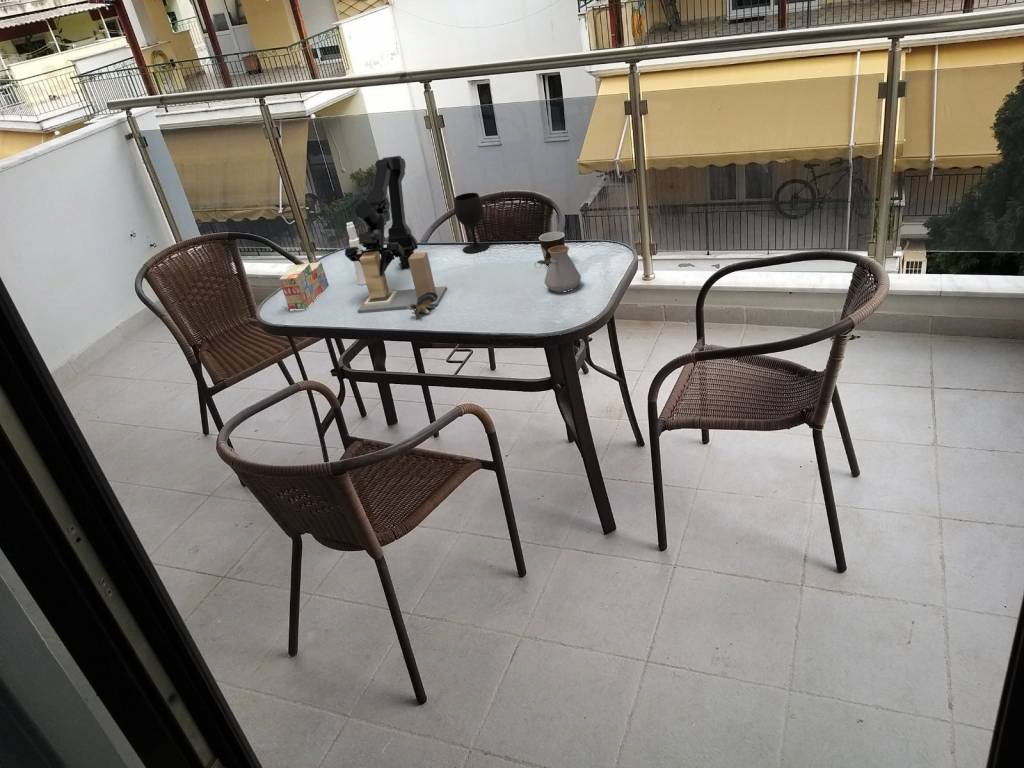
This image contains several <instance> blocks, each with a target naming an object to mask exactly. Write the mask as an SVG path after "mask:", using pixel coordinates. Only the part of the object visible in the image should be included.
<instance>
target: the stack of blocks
mask: <svg viewBox="0 0 1024 768" xmlns="http://www.w3.org/2000/svg"><path fill="white" fill-rule="evenodd" d="M323 266H324V265H323V262H322V261H319V262H310V263H307V262H306V263H303V264H294V265H292V267H290V268H289V269H288V270H287V271H286V272H285V273H284V274H283V275H282V276H281V277H280V278H279V282H280V285H281V286H280V287H281V289H282V292H283V295H284V298H285V300H286V304H287V307H288V310H289V311H290V309H306V308H307V307H308V306H309V305H310V304H311V303H312V302H313V301H314V300H315V299H316V297H317V296H318V295H319V294H320V293H321V292H322V291H323V290H324V289H325V288H326V287H327V286H328V287H329V281H328V278H327V275H326V272H325V269H324V267H323ZM328 287H327V288H328ZM327 288H326V289H327ZM326 289H325V290H326ZM325 290H324V291H325ZM324 291H323V292H324ZM323 292H322V293H323ZM322 293H321V294H322ZM321 294H320V295H321ZM320 295H319V296H320ZM316 300H317V299H316ZM316 300H315V301H316ZM315 301H314V302H315ZM314 302H313V303H314Z"/></svg>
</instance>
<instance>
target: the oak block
mask: <svg viewBox="0 0 1024 768" xmlns="http://www.w3.org/2000/svg"><path fill="white" fill-rule="evenodd" d="M360 262H361V266H362V269H363V273H364V276H365V280H366V286H367V290H368V293H369V294H368V295H370V298H380V297H385V296H386V295H387V293H388V292H389V291H390V287H389V284H388V280H387V277H386V276H387V275H386V273H385V272H384V274H383V276H381V275H380V265H381V254H379V251H376V252H366V253H364V254H363V255H362V256H361V257H360Z"/></svg>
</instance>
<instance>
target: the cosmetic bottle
mask: <svg viewBox="0 0 1024 768" xmlns="http://www.w3.org/2000/svg"><path fill="white" fill-rule="evenodd" d="M346 231H347V234H348V238H349V240H348V243H349V247H358V248H359V249H361V250H364V249H363V245H362V244H359V236H358V235H357V230H356V227H355V224H354V222H353V221H349V222H346ZM353 266H354V270H355V278H356V283H357V285H359V286H365V285H366V286H367V284H366V280H365V276H364V273H363V269H362V266H361V264H360V262H359V261H354V262H353Z"/></svg>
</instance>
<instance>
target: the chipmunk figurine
mask: <svg viewBox="0 0 1024 768" xmlns="http://www.w3.org/2000/svg"><path fill="white" fill-rule="evenodd" d="M437 298H438V295H437V294H435V293H434V292H427V293H425V294H424V295H422V296H421V297H419V298H418V300H417V304H416V305H415V304H413V303H410V304H408V305H407V308H408V309H407V310H410V311H412V310H413V311H414V312H411V314H414V315H415V319H416V320H417V319H418V318H419V317H420V313H421V312H422V313H426V314H427V315H429V316H430V315H431V311H429V310H428V309H435V308H436V307H430V306H428V304H431V303H432V302H435V301H436V300H437Z"/></svg>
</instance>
